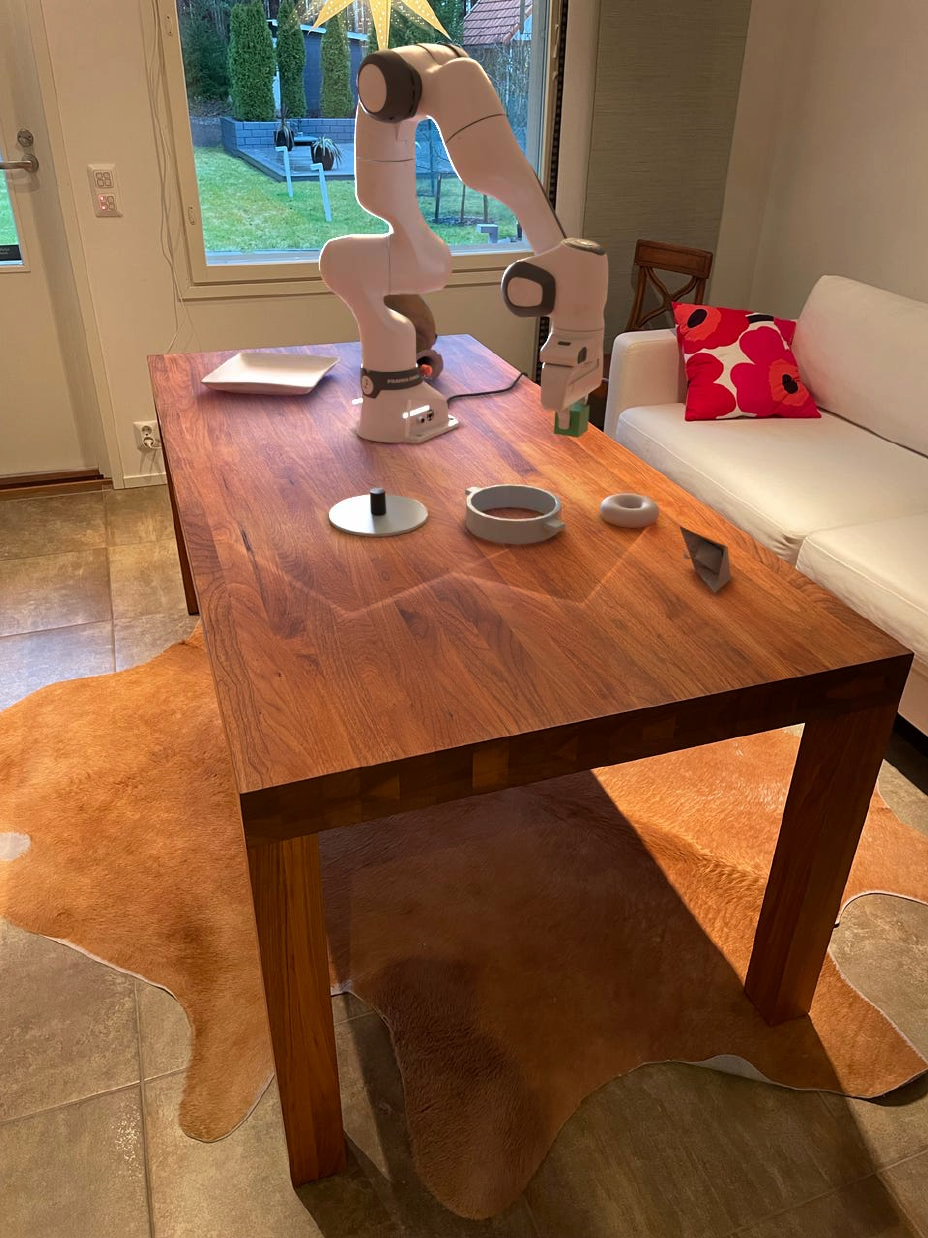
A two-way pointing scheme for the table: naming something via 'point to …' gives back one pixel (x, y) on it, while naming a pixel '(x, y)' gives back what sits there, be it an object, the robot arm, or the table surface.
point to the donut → (629, 510)
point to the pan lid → (378, 514)
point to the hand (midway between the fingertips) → (570, 423)
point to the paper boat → (708, 559)
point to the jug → (419, 328)
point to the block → (574, 421)
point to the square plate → (270, 373)
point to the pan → (513, 528)
